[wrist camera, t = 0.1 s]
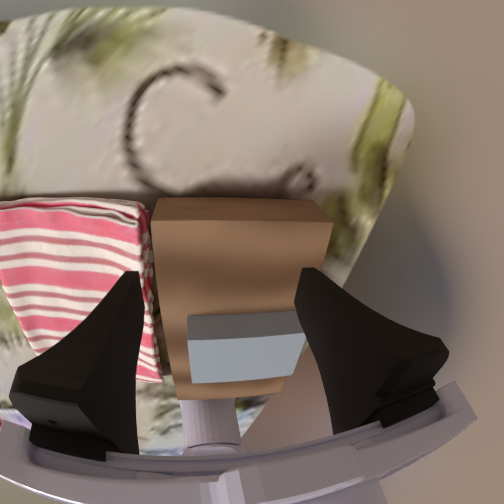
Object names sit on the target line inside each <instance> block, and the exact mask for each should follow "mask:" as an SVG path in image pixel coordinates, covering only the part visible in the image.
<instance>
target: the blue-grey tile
mask: <svg viewBox="0 0 504 504" xmlns="http://www.w3.org/2000/svg"><path fill="white" fill-rule="evenodd" d="M305 339H306V336H305V334H304V331H303V329H302V327H301V324H300V322H299V319H298V316H297V312H296V311H283V312H269V313H252V314H231V315H202V316H187V342H188V352H189V361H190V370H191V378H192V383H216V382H232V381H244V380H255V379H264V378H273V377H281V376H288V375H292V374H293V371H294V369H295V366H296V364H297V361H298V358H299V356H300V353H301V350H302V348H303V345H304V342H305Z"/></svg>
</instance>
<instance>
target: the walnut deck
mask: <svg viewBox="0 0 504 504" xmlns="http://www.w3.org/2000/svg"><path fill="white" fill-rule="evenodd" d="M333 224H334V223H333V221H332V220H331V219H330V218H329V217H328V216H327V215H326V214H325V213H324V212H323V211H322V210H321V209H320V208H319V207H318V206H317V205H316V203H315V202H314V201H309V200H291V199H268V198H234V197H158V200H157V203H156V206H155V209H154V212H153V215H152V218H151V233H152V245H153V255H154V265H155V274H156V282H157V290H158V297H159V304H160V311H161V317H162V323H163V329H164V335H165V341H166V346H167V351H168V357H169V362H170V366H171V371H172V376H173V380H174V385H175V389H176V393H177V398H178V400H208V399H225V398H238V397H248V396H258V395H266V394H274V393H280V392H281V390H282V387H283V384H284V382H285V379H286V377H287V376H281V377H273V378H264V379H255V380H244V381H232V382H216V383H192V378H191V370H190V361H189V352H188V342H187V316H202V315H231V314H252V313H269V312H283V311H296V309H295V305H294V298H295V294H296V290H297V286H298V282H299V278H300V274H301V270H302V268H306V267H315V268H316V269H318V270H319V271H320V272H321V269H322V265H323V262H324V258H325V255H326V251H327V247H328V243H329V240H330V236H331V232H332V228H333Z"/></svg>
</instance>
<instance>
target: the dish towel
mask: <svg viewBox="0 0 504 504" xmlns="http://www.w3.org/2000/svg"><path fill="white" fill-rule="evenodd" d="M149 222H150V213H149V210H145V205H143V204H142V203H140V202H136V201H128V200H121V199H106V198H91V197H67V198H43V197H39V198H24V199H19V200H14V201H1V202H0V278H1V281H2V285H3V289H4V291H5V293H6V296H7V298H8V301H9V303H10V305H11V306H12V308H13V311H14V313H15V314H16V316H17V317H18V320H19V322H20V324H21V326H22V328H23V331H24V334H25V335H26V337H27V339H28V341H29V343H30V345H31V346H32V348H33V349H34V351H35V353H36V354H37V355H38V356H39V355H40V354H42V353H43V352H45V351H46V350H48V349H49V348H51V347H52V346H54V345H55V344H56V343H58V342H59V341H60V340H61V339H63V338H64V337H65V336H66V335H68V334H69V333H70V332H71V331H72V330H74V329H75V328H76V327H77V326H78V325H79V324H80V323H81V322H82V321H83V320H84V319H85V318H86V317H87V316H88V315H89V314H90V313H91V312H92V311H93V309H94V308H95V307H96V306H97V305H98V304H99V303H100V302H101V300H102V299H103V298H104V297H105V295H106V294H107V293H108V292H109V291H110V289H111V288H112V287H113V286H114V284H115V283H116V282H117V281H118V279H119V278H120V277H121V275H122V274H123V273H124V272H125V271H139V275H140V281H141V287H142V293H143V298H144V304H145V316H144V328H143V334H142V339H141V345H140V351H139V357H138V363H137V371H136V380H138V381H144V382H150V383H162V382H164V378H163V374H162V373H163V372H162V367H161V364H160V356H159V349H158V345H157V339H156V336H155V332H154V323H155V321H154V316H153V305H152V302H154V296H153V294H152V293H151V291H152V284H151V282H152V277H153V267H152V263H153V254H152V250H151V245H152V241H151V237H150V234H149ZM150 289H151V290H150Z"/></svg>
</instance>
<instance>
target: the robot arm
mask: <svg viewBox="0 0 504 504" xmlns="http://www.w3.org/2000/svg"><path fill="white" fill-rule="evenodd" d="M294 305H295V309H296V312H297V316H298V319H299V322H300V324H301V327H302V329H303V331H304V334H305V336H306V338H307V341H308V343H309V345H310V347H311V350H312V352H313V354H314V357H315V359H316V362H317V364H318V368H319V371H320V374H321V378H322V381H323V385H324V389H325V393H326V397H327V402H328V407H329V411H330V416H331V423H332V429H333V435H332V436H328V437H324V438H321V439H316V440H312V441H308V442H304V443H299V444H294V445H289V446H284V447H279V448H273V449H267V450H260V451H246V447H245V445H242V442H241V437H240V431H239V426H238V421H237V415H236V410H235V399H236V398H225V399H208V400H179V403H180V407H181V411H182V421H183V436H184V449H183V455H178V456H150V455H139V447H138V437H137V424H136V371H137V363H138V357H139V351H140V345H141V339H142V334H143V328H144V316H145V304H144V298H143V293H142V287H141V281H140V275H139V271H125V272H124V273H123V274H122V275H121V277H120V278H119V279H118V281H117V282H116V283H115V284H114V286H113V287H112V288H111V289H110V291H109V292H108V293H107V294H106V295H105V297H104V298H103V299H102V300H101V302H100V303H99V304H98V305H97V306H96V307H95V308H94V309H93V311H92V312H91V313H90V314H89V315H88V316H87V317H86V318H85V319H84V320H83V321H82V322H81V323H80V324H79V325H78V326H77V327H76V328H75V329H74V330H72V331H71V332H70V333H69V334H68V335H66V336H65V337H64V338H63V339H61V340H60V341H59V342H58V343H56V344H55V345H54V346H52V347H51V348H49V349H48V350H46V351H45V352H43V353H42V354H40V355H39V356H37V357H35V358H34V359H32V360H30V361H28V362H26V363H25V364H23V365H21V366H19V367H18V369H17V371H16V374H15V377H14V380H13V383H12V387H11V390H10V393H9V398H10V401H11V402H12V404H13V405H14V407H15V408H16V409H17V410H18V411H19V412H20V413H21V414H22V415H23V416H24V417H25V418H26V419H28V420H29V421H30V422H31V423H32V427H31V430H30V429H28V428H26V427H24V426H21V425H18V424H15V423H12V422H9V421H6V420H3V422H2V426H1V431H0V477H2V478H4V479H6V480H7V481H9V482H11V483H13V484H15V485H17V486H20V487H22V488H24V489H26V490H28V491H31V492H33V493H36V494H38V495H41V496H44V497H47V498H50V499H53V500H56V501H59V502H62V503H65V504H388V503H387V501H386V498H385V495H384V493H383V490H382V488H381V485H380V483H379V480H381V479H383V478H385V477H387V476H389V475H391V474H393V473H395V472H397V471H399V470H401V469H403V468H405V467H407V466H409V465H411V464H412V463H414V462H416V461H418V460H419V459H421V458H423V457H425V456H426V455H428V454H430V453H431V452H433V451H434V450H436V449H438V448H439V447H440V446H442V445H444V444H445V443H447V442H448V441H450V440H451V439H452V438H454V437H455V436H457V435H458V434H459V433H461V432H462V431H463V430H464V429H466V428H467V427H468V426H469V425H471V424H472V423H473V422H474V421H476V420H477V416H476V414H475V413H474V411H473V409H472V407H471V406H470V404H469V402H468V400H467V399H466V397H465V395H464V394H463V392H462V391H461V389H460V387H459V386H458V384H457V383H456V381H452V382H451V383H449V384H447V385H445V386H443V387H441V388H440V389H438V390H437V391H436V392H435V390H434V388H433V386H435V381H434V380H433V377H434V376H435V374H436V373H437V372H438V371H439V370H440V368H441V367H442V366H443V365H444V363H445V362H446V361H447V359H448V356H449V350H448V349H447V348H446V346H445V345H444V343H443V342H442V340H441V339H440V338H438V337H434V336H431V335H427V334H424V333H421V332H418V331H415V330H413V329H409V328H407V327H405V326H403V325H400V324H398V323H396V322H394V321H392V320H390V319H388V318H386V317H384V316H382V315H380V314H379V313H377V312H375V311H373V310H372V309H370V308H369V307H367V306H365V305H364V304H363V303H361V302H360V301H358V300H357V299H355V298H354V297H353V296H351V295H350V294H348V293H347V292H346V291H345V290H343V289H342V288H341V287H339V286H338V285H337V284H336V283H334V282H333V281H332V280H331V279H329V278H328V277H327V276H325V275H324V274H323V273H322V272H320V271H319V270H318V269H316V268H315V267H306V268H302V270H301V274H300V278H299V282H298V286H297V290H296V294H295V298H294Z"/></svg>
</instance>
